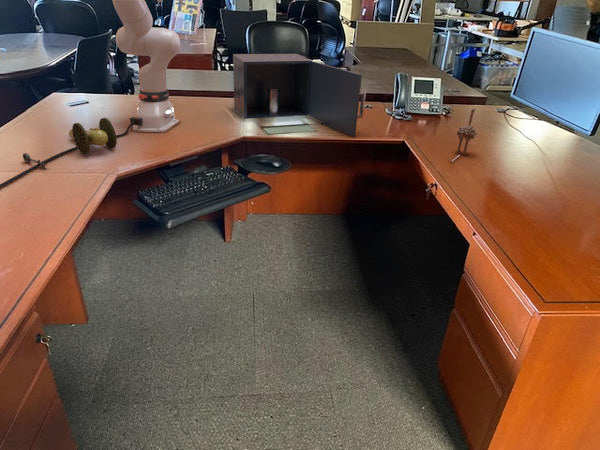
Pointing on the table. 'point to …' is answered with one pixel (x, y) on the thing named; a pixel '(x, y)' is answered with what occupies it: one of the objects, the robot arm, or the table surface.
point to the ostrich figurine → (466, 134)
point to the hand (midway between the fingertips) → (170, 2)
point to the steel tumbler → (273, 100)
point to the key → (28, 159)
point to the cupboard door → (336, 97)
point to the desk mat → (287, 129)
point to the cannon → (93, 136)
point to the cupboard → (271, 84)
